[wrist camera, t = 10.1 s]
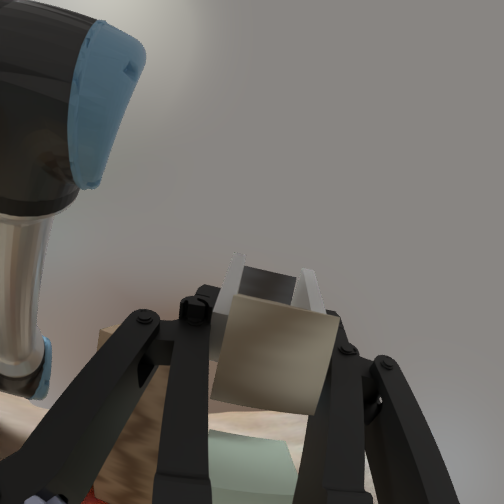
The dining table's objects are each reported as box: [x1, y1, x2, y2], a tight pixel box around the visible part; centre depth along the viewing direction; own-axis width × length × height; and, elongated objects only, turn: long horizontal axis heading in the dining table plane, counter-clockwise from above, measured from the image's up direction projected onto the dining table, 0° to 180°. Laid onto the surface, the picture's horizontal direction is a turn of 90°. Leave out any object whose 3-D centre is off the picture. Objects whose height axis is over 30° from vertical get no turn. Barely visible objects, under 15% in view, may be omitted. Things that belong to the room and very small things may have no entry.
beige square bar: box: [210, 266, 340, 416], centre depth 19 cm, size 6×22×6 cm, turn 2°
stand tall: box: [93, 324, 170, 504], centre depth 32 cm, size 10×13×30 cm
